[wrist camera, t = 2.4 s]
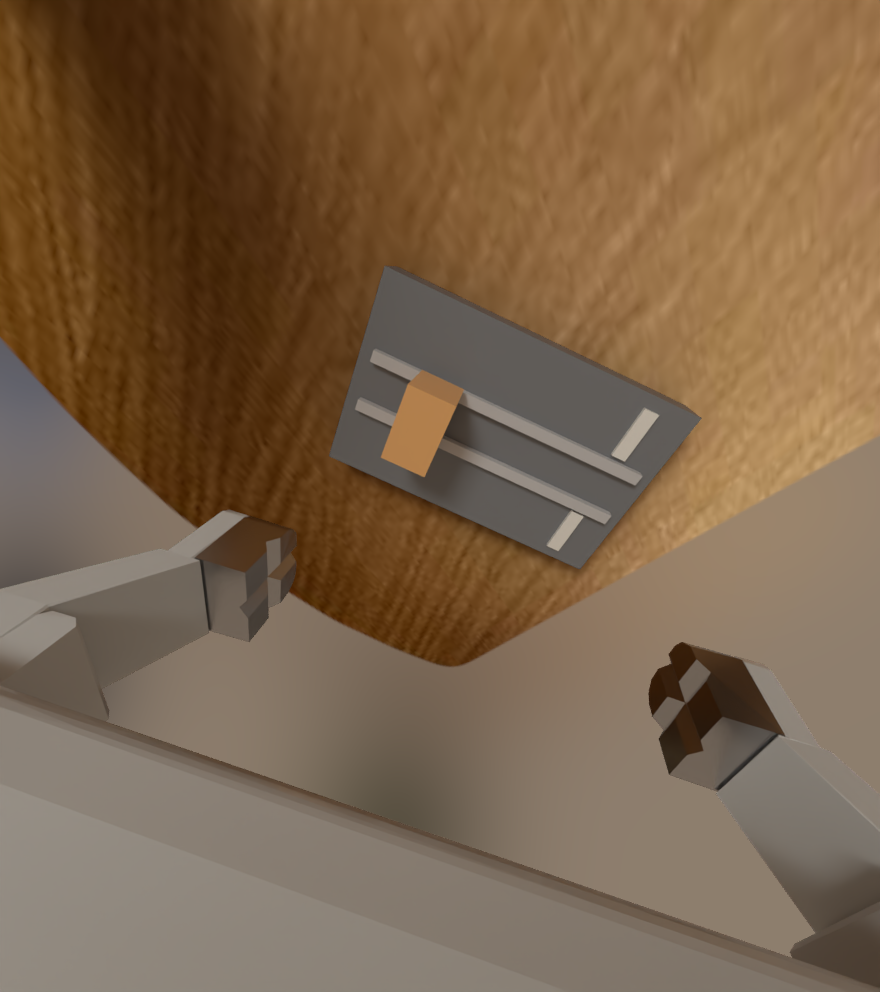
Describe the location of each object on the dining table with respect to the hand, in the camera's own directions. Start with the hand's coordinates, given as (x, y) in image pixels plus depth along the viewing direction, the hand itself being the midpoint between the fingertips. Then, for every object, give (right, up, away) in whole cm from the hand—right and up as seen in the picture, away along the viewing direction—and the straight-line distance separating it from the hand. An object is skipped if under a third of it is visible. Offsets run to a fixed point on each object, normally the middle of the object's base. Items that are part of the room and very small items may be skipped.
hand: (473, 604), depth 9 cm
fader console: (+4, +8, +23) cm, 24 cm away
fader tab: (-1, +8, +20) cm, 21 cm away
